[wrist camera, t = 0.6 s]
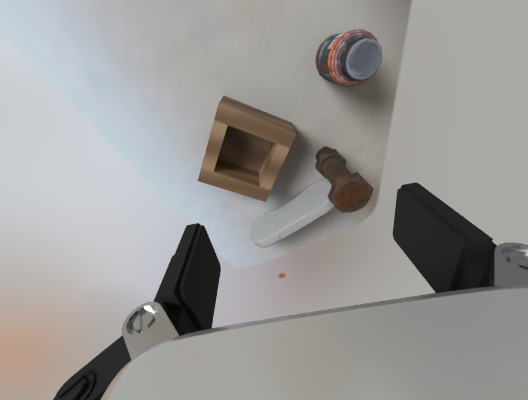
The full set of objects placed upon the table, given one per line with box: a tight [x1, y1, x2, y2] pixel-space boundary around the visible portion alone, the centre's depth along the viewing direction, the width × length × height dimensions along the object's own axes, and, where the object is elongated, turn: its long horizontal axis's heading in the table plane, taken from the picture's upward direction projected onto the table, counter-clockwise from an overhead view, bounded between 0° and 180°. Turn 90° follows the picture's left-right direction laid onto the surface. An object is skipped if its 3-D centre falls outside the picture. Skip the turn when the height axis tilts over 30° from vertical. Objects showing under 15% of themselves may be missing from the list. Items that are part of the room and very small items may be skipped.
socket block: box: [198, 96, 297, 202], centre depth 40 cm, size 13×12×6 cm
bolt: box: [315, 147, 373, 212], centre depth 37 cm, size 6×5×15 cm
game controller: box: [250, 180, 334, 248], centre depth 46 cm, size 20×2×8 cm, turn 127°
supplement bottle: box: [316, 30, 382, 86], centre depth 31 cm, size 6×6×11 cm
